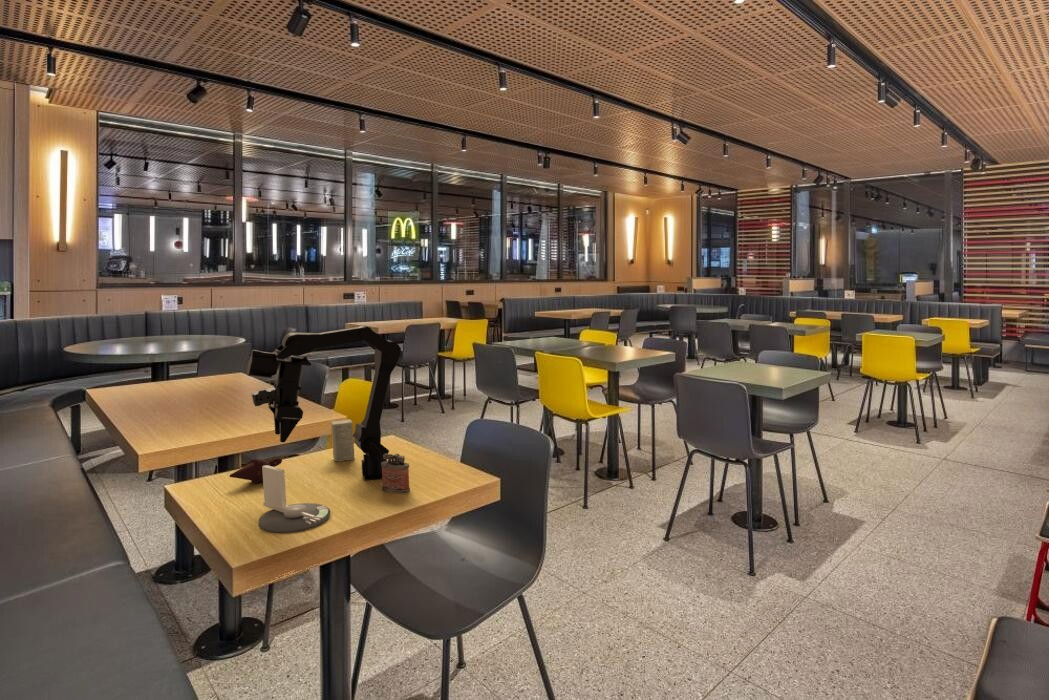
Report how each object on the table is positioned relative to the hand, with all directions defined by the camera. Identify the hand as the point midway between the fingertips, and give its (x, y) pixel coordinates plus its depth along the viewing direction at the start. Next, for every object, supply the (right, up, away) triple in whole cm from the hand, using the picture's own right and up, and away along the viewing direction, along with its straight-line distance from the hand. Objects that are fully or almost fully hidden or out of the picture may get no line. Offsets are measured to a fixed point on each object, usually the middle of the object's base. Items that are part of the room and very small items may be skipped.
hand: (279, 438), depth 163 cm
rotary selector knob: (+9, -16, -16) cm, 24 cm away
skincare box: (+8, -11, +30) cm, 33 cm away
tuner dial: (+10, -17, -17) cm, 26 cm away
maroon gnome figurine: (-10, -14, +10) cm, 20 cm away
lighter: (+30, -15, +2) cm, 34 cm away
